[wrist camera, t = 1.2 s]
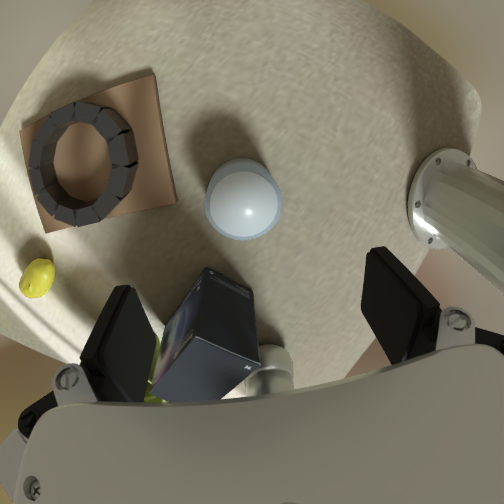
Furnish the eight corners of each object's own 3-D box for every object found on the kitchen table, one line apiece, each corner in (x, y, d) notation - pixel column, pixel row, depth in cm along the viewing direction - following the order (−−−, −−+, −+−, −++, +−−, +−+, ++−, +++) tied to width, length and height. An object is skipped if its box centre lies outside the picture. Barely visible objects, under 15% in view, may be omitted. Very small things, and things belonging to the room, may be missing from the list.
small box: (203, 262, 28) (193, 334, 19) (255, 290, 30) (266, 364, 21) (161, 325, 32) (145, 395, 22) (207, 346, 34) (204, 416, 24)
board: (155, 76, 19) (152, 74, 18) (177, 200, 25) (175, 203, 24) (24, 130, 19) (19, 131, 18) (50, 230, 25) (45, 233, 24)
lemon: (22, 270, 27) (7, 286, 23) (50, 244, 26) (33, 260, 22) (40, 294, 29) (26, 311, 25) (70, 271, 27) (55, 290, 24)
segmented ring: (126, 87, 19) (115, 85, 16) (149, 203, 24) (141, 212, 21) (35, 126, 18) (20, 129, 16) (59, 225, 24) (47, 234, 21)
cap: (270, 153, 24) (279, 161, 19) (276, 215, 26) (285, 235, 22) (203, 163, 24) (197, 173, 19) (214, 224, 26) (211, 246, 22)
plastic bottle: (299, 349, 35) (335, 488, 18) (265, 375, 37) (283, 503, 20) (265, 329, 33) (291, 489, 15) (230, 358, 35) (236, 502, 17)
